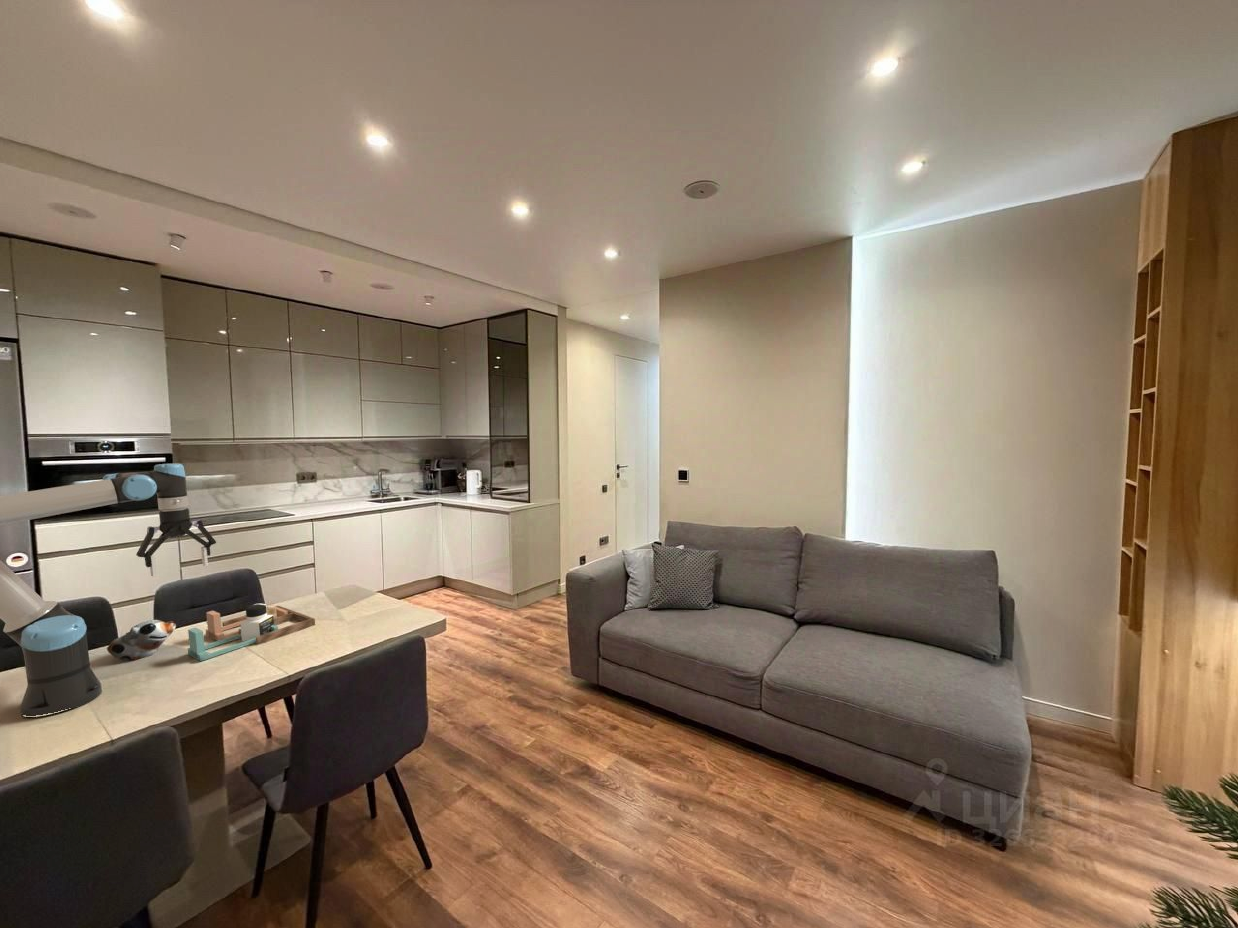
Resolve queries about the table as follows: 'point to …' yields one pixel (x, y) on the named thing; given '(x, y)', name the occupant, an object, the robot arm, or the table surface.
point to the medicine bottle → (256, 622)
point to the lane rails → (304, 623)
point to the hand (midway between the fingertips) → (180, 570)
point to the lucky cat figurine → (141, 640)
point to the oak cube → (271, 611)
